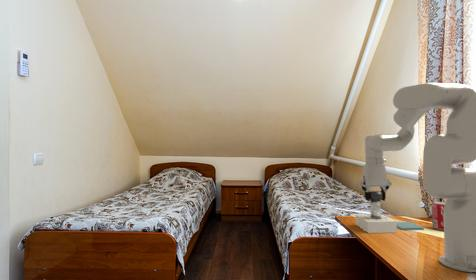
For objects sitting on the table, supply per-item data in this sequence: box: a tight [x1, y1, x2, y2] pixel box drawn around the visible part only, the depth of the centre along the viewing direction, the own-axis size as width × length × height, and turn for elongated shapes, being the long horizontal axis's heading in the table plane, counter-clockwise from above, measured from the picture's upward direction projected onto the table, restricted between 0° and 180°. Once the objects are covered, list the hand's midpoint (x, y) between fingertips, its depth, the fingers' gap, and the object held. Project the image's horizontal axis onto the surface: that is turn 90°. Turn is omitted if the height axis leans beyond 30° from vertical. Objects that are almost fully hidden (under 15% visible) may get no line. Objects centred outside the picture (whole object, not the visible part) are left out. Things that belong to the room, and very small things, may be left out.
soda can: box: [431, 201, 446, 231], centre depth 137 cm, size 7×7×12 cm
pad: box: [397, 221, 425, 231], centre depth 141 cm, size 10×10×1 cm
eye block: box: [355, 213, 398, 234], centre depth 138 cm, size 13×13×5 cm
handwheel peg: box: [369, 190, 383, 219], centre depth 138 cm, size 6×6×12 cm
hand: (375, 199), depth 138 cm, fingers closed on handwheel peg, 6 cm apart
